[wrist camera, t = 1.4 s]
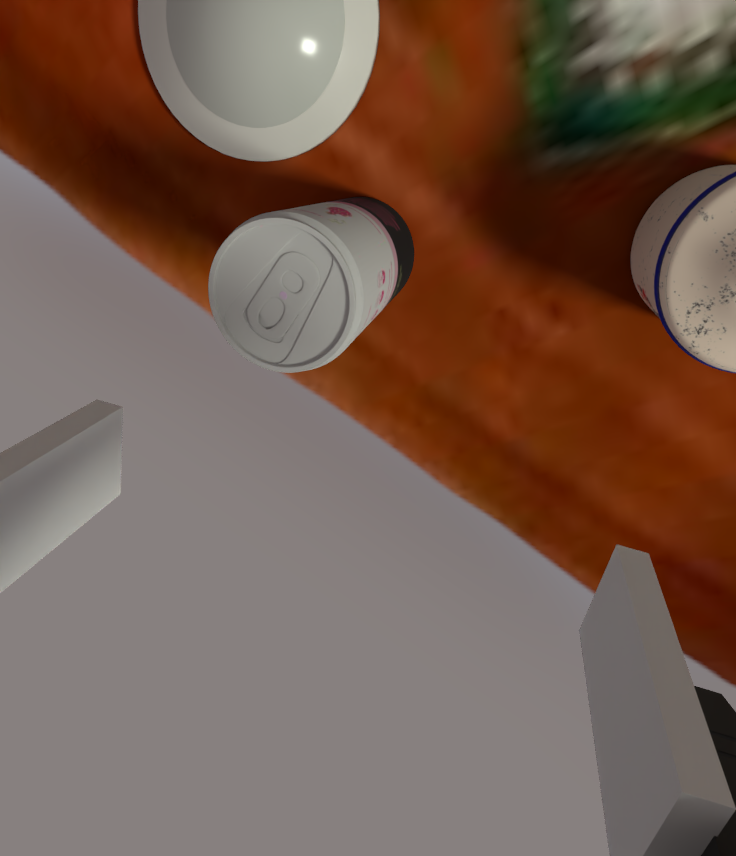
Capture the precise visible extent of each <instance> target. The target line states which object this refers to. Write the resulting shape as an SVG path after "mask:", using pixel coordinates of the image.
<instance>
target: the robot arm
mask: <svg viewBox="0 0 736 856" xmlns="http://www.w3.org/2000/svg"><path fill="white" fill-rule="evenodd" d="M122 419H123V407H122V406H118V405H115V404H111V403H108V402H104V401H100V400H95V401H93V402H92V403H90V404H88V405H87V406H84V407H83V408H81V409H79V410H77V411H76V412H74V413H72V414H70V415H68V416H66V417H65V418H63V419H61V420H59V421H57V422H56V423H54V424H52V425H50V426H48V427H46V428H45V429H43V430H41V431H39V432H37V433H36V434H34V435H32V436H30V437H28V438H27V439H25V440H23V441H21V442H20V443H18V444H16V445H14V446H12V447H11V448H9V449H7V450H5V451H3V452H1V453H0V593H1V592H2V591H4V590H5V589H6V588H7V587H8V586H10V585H11V584H12V583H13V582H14V581H16V580H17V579H18V578H19V577H20V576H22V575H23V574H24V573H25V572H27V571H28V570H29V569H30V568H31V567H32V566H34V565H35V564H36V563H37V562H39V561H40V560H41V559H42V558H44V557H45V556H46V555H47V554H48V553H49V552H51V551H52V550H53V549H54V548H56V547H57V546H58V545H59V544H61V543H62V542H63V541H64V540H65V539H67V538H68V537H69V536H70V535H71V534H73V533H74V532H75V531H76V530H77V529H79V528H80V527H81V526H82V525H83V524H85V523H86V522H87V521H88V520H89V519H91V518H92V517H93V516H94V515H96V514H97V513H98V512H99V511H100V510H102V509H103V508H104V507H105V506H106V505H108V504H109V503H110V502H111V501H113V500H114V499H115V498H116V497H117V496H119V495H120V494H121V459H122ZM579 632H580V640H581V648H582V655H583V662H584V670H585V677H586V684H587V691H588V699H589V707H590V714H591V721H592V728H593V736H594V743H595V751H596V758H597V765H598V773H599V780H600V787H601V794H602V802H603V810H604V817H605V824H606V832H607V839H608V847H609V854H610V856H736V712H735V711H734V709H733V708H732V707H731V706H730V704H729V703H728V702H727V701H726V699H725V698H724V697H723V696H722V694H719V693H716V692H713V691H710V690H706V689H703V688H700V687H696V686H694V685H693V682H692V679H691V676H690V673H689V670H688V667H687V664H686V661H685V658H684V655H683V653H682V650H681V647H680V644H679V641H678V638H677V635H676V632H675V629H674V626H673V623H672V620H671V618H670V615H669V612H668V609H667V606H666V603H665V600H664V597H663V594H662V591H661V588H660V585H659V582H658V580H657V577H656V574H655V571H654V568H653V565H652V562H651V559H650V556H649V553H645V552H641V551H638V550H634V549H631V548H627V547H623V546H620V545H616V547H615V549H614V552H613V554H612V556H611V559H610V561H609V563H608V565H607V568H606V570H605V572H604V575H603V577H602V579H601V581H600V584H599V586H598V588H597V591H596V593H595V595H594V598H593V600H592V602H591V604H590V607H589V609H588V611H587V614H586V616H585V618H584V620H583V623H582V625H581V628H580V630H579Z"/></svg>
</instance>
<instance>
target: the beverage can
mask: <svg viewBox="0 0 736 856" xmlns="http://www.w3.org/2000/svg"><path fill="white" fill-rule="evenodd" d="M413 262H414V246H413V240H412V237H411V234H410V231H409V229H408V227H407V225H406V223H405V222H404V220H403V219H402V217H401V216H400V215H399V214H398V213H397V212H396V211H395V210H394V209H393V208H391V207H390V206H389V205H387V204H385V203H384V202H382V201H379V200H377V199H373V198H369V197H352V198H346V199H341V200H335V201H330V202H324V203H318V204H313V205H307V206H302V207H296V208H291V209H285V210H280V211H274V212H269V213H264V214H260V215H258V216H255V217H253V218H251V219H249V220H247V221H245V222H244V223H242V224H241V225H240V226H238V227H237V228H236V229H235V230H234V231H233V232H232V233H231V234H230V235H229V237H228V238H227V239H226V240H225V241H224V242H223V244H222V245H221V246H220V248H219V250H218V251H217V253H216V255H215V257H214V260H213V263H212V266H211V270H210V274H209V285H208V291H209V301H210V306H211V310H212V313H213V316H214V319H215V321H216V324H217V325H218V328H219V329H220V331H221V333H222V334H223V336H224V337H225V339H226V340H227V341H228V343H229V344H230V345H231V346H232V347H233V348H234V349H235V350H236V351H237V352H238V353H239V354H241V355H242V356H243V357H244V358H246V359H247V360H249V361H251V362H252V363H254V364H256V365H258V366H260V367H263V368H265V369H269V370H272V371H277V372H287V373H290V372H301V371H306V370H311V369H315V368H318V367H320V366H323V365H325V364H327V363H329V362H330V361H332V360H333V359H335V358H336V357H337V356H339V355H340V354H341V353H342V352H343V351H344V350H345V349H346V348H347V347H348V346H349V345H350V344H351V343H352V342H353V340H354V339H355V338H356V337H357V336H358V335H359V334H360V333H361V332H362V331H363V330H364V329H365V328H366V327H367V326H368V325H369V323H370V322H371V321H372V320H373V319H374V318H375V317H376V316H377V315H378V314H379V313H380V312H381V311H382V310H383V309H384V308H385V306H386V305H387V304H388V303H389V302H390V301H391V300H392V299H393V298H394V297H395V296H396V295H397V294H398V293H399V292H400V290H401V289H402V288H403V287H404V285H405V284H406V282H407V280H408V278H409V276H410V274H411V271H412V267H413Z"/></svg>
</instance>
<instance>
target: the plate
mask: <svg viewBox="0 0 736 856" xmlns="http://www.w3.org/2000/svg"><path fill="white" fill-rule="evenodd" d="M138 20H139V31H140V37H141V43H142V48H143V52H144V56H145V59H146V62H147V66H148V69H149V71H150V74H151V76H152V79H153V81H154V83H155V86H156V88H157V89H158V91H159V93H160V95H161V97H162V99H163V100H164V102H165V103H166V105H167V106H168V108H169V109H170V110H171V112H172V113H173V115H174V116H175V117H176V118H177V119H178V120H179V122H180V123H181V124H182V125H183V126H184V127H185V128H186V129H187V130H188V131H189V132H190V133H192V134H193V135H194V136H195V137H196V138H197V139H199V140H200V141H202V142H203V143H205V144H206V145H208V146H209V147H211V148H213V149H215V150H217V151H219V152H221V153H223V154H226V155H229V156H232V157H235V158H239V159H244V160H249V161H277V160H284V159H288V158H292V157H296V156H298V155H301V154H303V153H305V152H308V151H310V150H312V149H313V148H315V147H316V146H318V145H320V144H321V143H323V142H324V141H325V140H327V139H328V138H329V137H330V136H331V135H333V134H334V133H335V132H336V131H337V130H338V129H339V128H340V127H341V126H342V124H343V123H344V122H345V121H346V120H347V119H348V117H349V116H350V114H351V113H352V112H353V110H354V109H355V107H356V106H357V104H358V102H359V100H360V98H361V97H362V95H363V93H364V91H365V89H366V86H367V83H368V81H369V78H370V76H371V73H372V69H373V65H374V62H375V58H376V53H377V47H378V40H379V25H380V11H379V0H138Z"/></svg>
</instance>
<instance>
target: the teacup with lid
mask: <svg viewBox="0 0 736 856" xmlns="http://www.w3.org/2000/svg"><path fill="white" fill-rule="evenodd" d="M631 272H632V277H633V281H634V284H635V286H636V289H637V291H638V293H639V295H640V296H641V298H642V299H643V301H644V302H645V303H646V304H647V305H648V307H649V308H650V309H651V310H652V311H653V312H654V313H655V314H656V315H657V316H658V317H659V318H660V319H661V322H662V324H663V326H664V328H665V329H666V331H667V333H668V334H669V336H670V337H671V338H672V340H673V341H674V342H675V343H676V344H677V345H678V346H679V347H680V348H681V349H682V350H683V351H684V352H685V353H687V354H688V355H690V356H691V357H692V358H694V359H696V360H697V361H699V362H701V363H703V364H705V365H707V366H710V367H712V368H715V369H718V370H722V371H726V372H731V373H736V165H723V166H716V167H711V168H707V169H704V170H701V171H698V172H695V173H693V174H691V175H689V176H687V177H685V178H683V179H681V180H680V181H678V182H676V183H675V184H673V185H672V186H671V187H669V188H668V189H667V190H666V191H665V192H663V193H662V194H661V195H660V196H659V197H658V198H657V199H656V200H655V201H654V202H653V204H652V205H651V206H650V207H649V209H648V210H647V212H646V213H645V215H644V216H643V218H642V220H641V222H640V223H639V226H638V228H637V230H636V233H635V236H634V239H633V243H632V249H631Z"/></svg>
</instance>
